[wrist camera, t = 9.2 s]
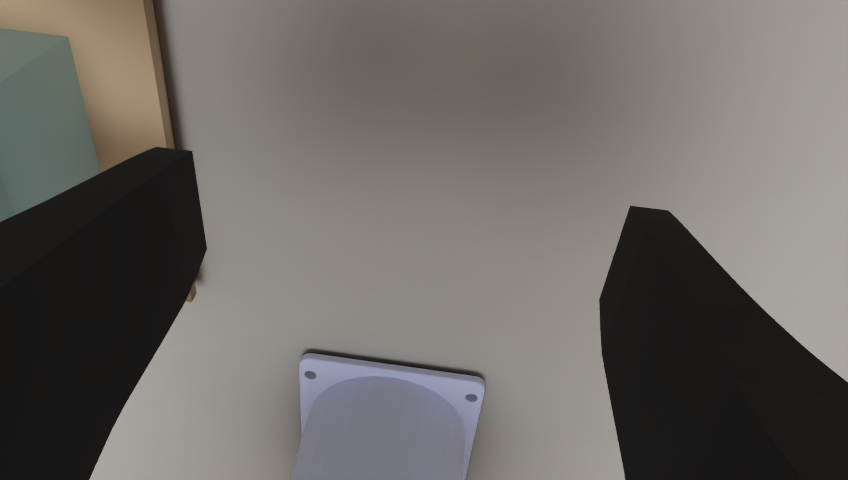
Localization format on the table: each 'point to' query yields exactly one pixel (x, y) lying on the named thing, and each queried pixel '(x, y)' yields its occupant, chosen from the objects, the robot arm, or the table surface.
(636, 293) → the robot arm
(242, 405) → the table surface
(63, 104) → the pale teal rectangular block
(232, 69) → the table surface
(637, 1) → the table surface
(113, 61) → the thin wooden board
